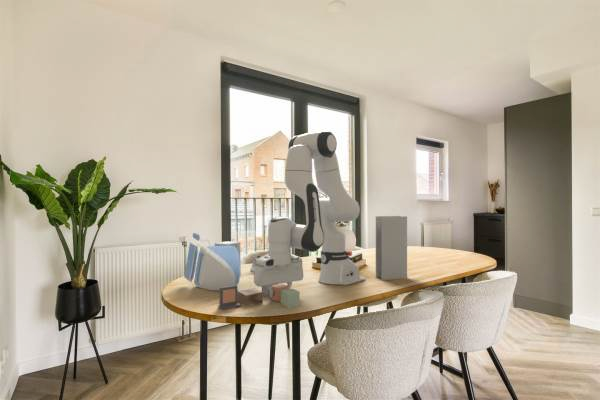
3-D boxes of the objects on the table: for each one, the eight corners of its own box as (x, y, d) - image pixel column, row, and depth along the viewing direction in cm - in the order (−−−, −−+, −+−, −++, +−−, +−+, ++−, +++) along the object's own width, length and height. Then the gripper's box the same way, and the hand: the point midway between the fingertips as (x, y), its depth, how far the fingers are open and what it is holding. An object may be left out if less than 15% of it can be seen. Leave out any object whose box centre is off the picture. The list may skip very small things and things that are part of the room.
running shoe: (284, 276, 169) (284, 256, 169) (246, 272, 178) (246, 253, 178) (291, 272, 177) (291, 253, 177) (255, 269, 186) (255, 251, 186)
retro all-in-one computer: (191, 230, 147) (223, 227, 159) (183, 278, 151) (215, 272, 164) (226, 252, 131) (258, 247, 144) (216, 306, 136) (248, 296, 148)
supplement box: (241, 275, 170) (241, 242, 170) (228, 279, 162) (228, 244, 162) (227, 273, 175) (227, 240, 175) (214, 276, 168) (214, 242, 168)
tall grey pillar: (400, 275, 170) (400, 215, 169) (407, 277, 164) (407, 216, 164) (375, 277, 165) (375, 216, 165) (381, 280, 160) (381, 216, 160)
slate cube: (272, 291, 140) (272, 279, 140) (278, 294, 136) (278, 282, 136) (261, 293, 138) (261, 281, 137) (267, 296, 133) (267, 284, 133)
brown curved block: (253, 298, 132) (253, 288, 132) (262, 302, 126) (262, 292, 126) (237, 301, 127) (237, 291, 127) (246, 306, 122) (246, 295, 122)
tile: (236, 304, 123) (236, 284, 123) (239, 306, 121) (239, 286, 121) (218, 307, 119) (218, 287, 119) (220, 310, 117) (220, 289, 117)
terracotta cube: (282, 296, 133) (282, 283, 133) (288, 299, 129) (288, 286, 129) (270, 298, 131) (270, 285, 131) (277, 301, 127) (276, 288, 127)
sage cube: (292, 301, 127) (292, 288, 127) (299, 305, 122) (299, 291, 122) (280, 304, 124) (280, 290, 124) (287, 307, 120) (287, 293, 120)
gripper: (298, 255, 138) (298, 288, 138) (252, 260, 127) (252, 296, 127) (306, 257, 133) (306, 292, 133) (259, 262, 122) (259, 300, 122)
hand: (279, 294), depth 130 cm, fingers closed on terracotta cube, 5 cm apart
